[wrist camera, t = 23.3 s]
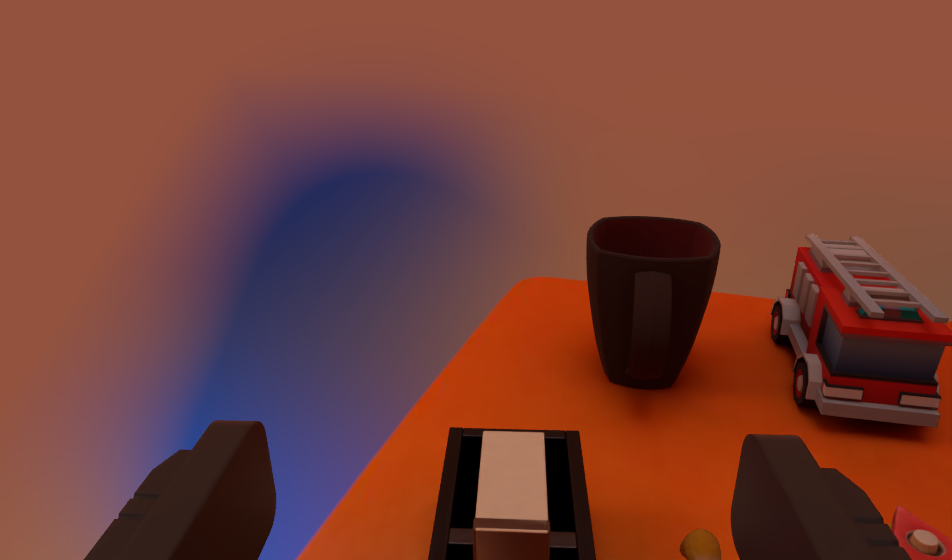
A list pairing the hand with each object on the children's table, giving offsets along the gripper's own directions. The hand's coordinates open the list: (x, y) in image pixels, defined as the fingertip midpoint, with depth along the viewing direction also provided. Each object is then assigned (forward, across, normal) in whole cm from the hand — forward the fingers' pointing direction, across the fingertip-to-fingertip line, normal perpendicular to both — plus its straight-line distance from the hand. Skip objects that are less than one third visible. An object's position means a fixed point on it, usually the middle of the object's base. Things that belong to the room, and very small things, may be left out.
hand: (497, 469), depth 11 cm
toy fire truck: (+40, -27, +22) cm, 53 cm away
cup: (+38, -11, +22) cm, 45 cm away
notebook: (+11, 0, +21) cm, 24 cm away
